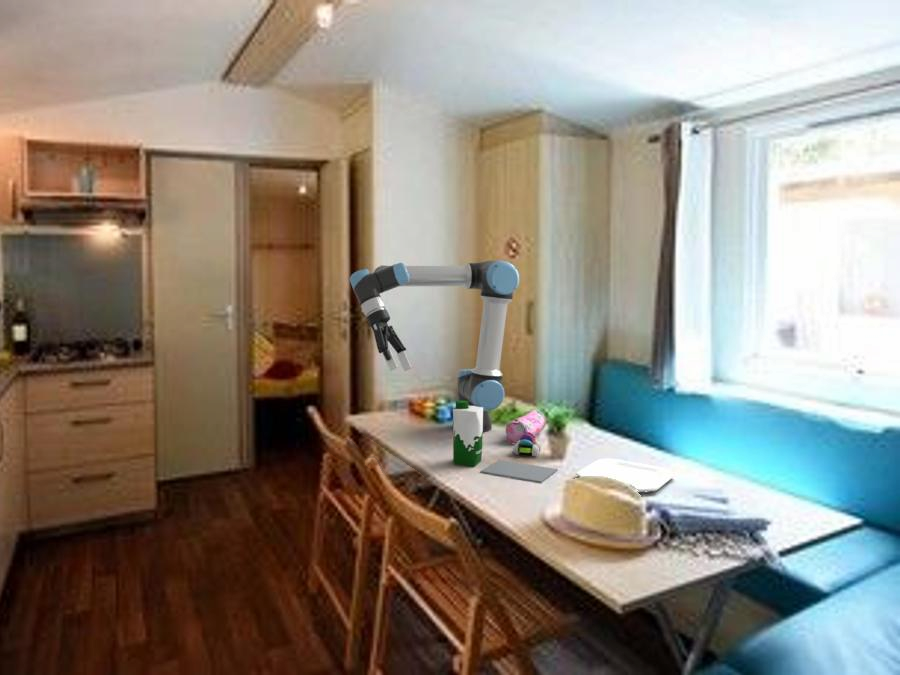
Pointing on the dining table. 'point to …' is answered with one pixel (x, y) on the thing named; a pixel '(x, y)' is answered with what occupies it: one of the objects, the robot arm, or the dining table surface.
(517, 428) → the pencil case
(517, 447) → the rainbow cloud toy
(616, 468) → the plate
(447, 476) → the dining table surface
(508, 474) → the topple mat
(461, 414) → the fresh milk carton
